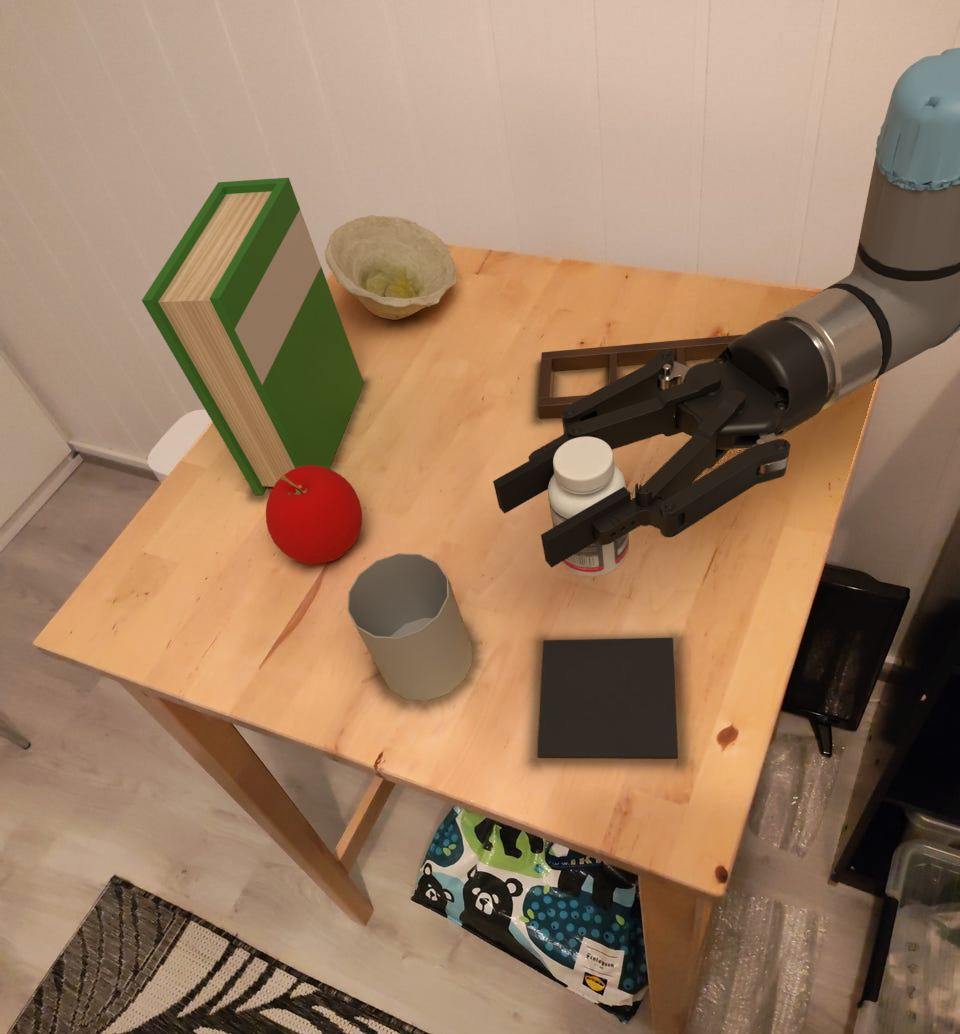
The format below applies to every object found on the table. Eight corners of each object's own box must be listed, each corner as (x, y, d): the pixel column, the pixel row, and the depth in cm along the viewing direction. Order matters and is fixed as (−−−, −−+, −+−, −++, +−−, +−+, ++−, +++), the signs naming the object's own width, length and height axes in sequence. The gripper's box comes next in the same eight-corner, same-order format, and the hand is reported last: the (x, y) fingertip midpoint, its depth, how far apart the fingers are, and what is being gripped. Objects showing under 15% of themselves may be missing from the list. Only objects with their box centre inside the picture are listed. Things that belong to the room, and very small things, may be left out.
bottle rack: (754, 347, 89) (756, 333, 87) (762, 403, 84) (764, 389, 83) (543, 365, 93) (541, 351, 92) (539, 419, 89) (537, 406, 87)
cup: (390, 712, 72) (356, 652, 64) (372, 638, 77) (338, 572, 68) (483, 682, 72) (461, 617, 64) (459, 609, 77) (436, 540, 69)
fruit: (317, 499, 88) (282, 428, 80) (388, 521, 84) (359, 449, 76) (267, 564, 84) (225, 497, 76) (339, 590, 81) (303, 523, 72)
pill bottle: (602, 512, 65) (594, 416, 57) (644, 555, 62) (641, 460, 54) (543, 546, 64) (527, 454, 56) (583, 591, 61) (571, 501, 53)
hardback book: (317, 497, 88) (219, 298, 68) (255, 494, 90) (141, 300, 70) (363, 383, 97) (288, 177, 77) (306, 382, 99) (218, 182, 79)
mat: (672, 640, 71) (672, 637, 71) (677, 759, 65) (677, 756, 65) (544, 643, 73) (543, 640, 73) (538, 758, 67) (537, 755, 67)
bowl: (438, 352, 98) (418, 275, 89) (332, 345, 102) (303, 271, 94) (477, 273, 105) (461, 195, 96) (376, 269, 109) (353, 194, 101)
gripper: (881, 476, 58) (603, 645, 54) (709, 348, 68) (465, 484, 64) (907, 391, 52) (596, 576, 48) (714, 264, 62) (445, 410, 58)
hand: (522, 523), depth 56 cm, fingers closed on pill bottle, 5 cm apart
